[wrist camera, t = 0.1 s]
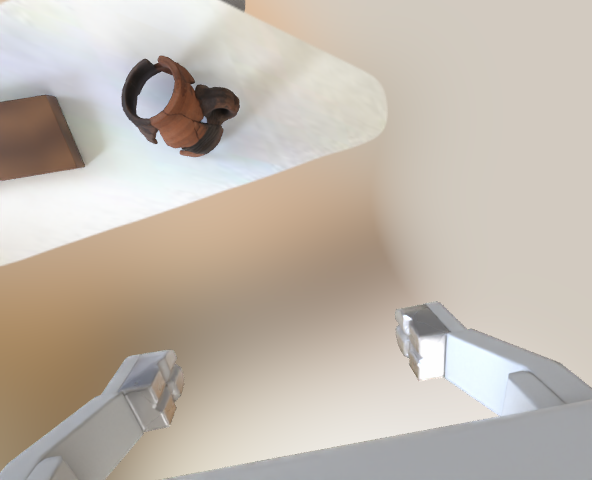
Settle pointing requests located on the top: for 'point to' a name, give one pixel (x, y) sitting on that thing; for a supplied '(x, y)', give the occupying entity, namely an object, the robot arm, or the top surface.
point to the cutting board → (35, 138)
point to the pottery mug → (181, 109)
